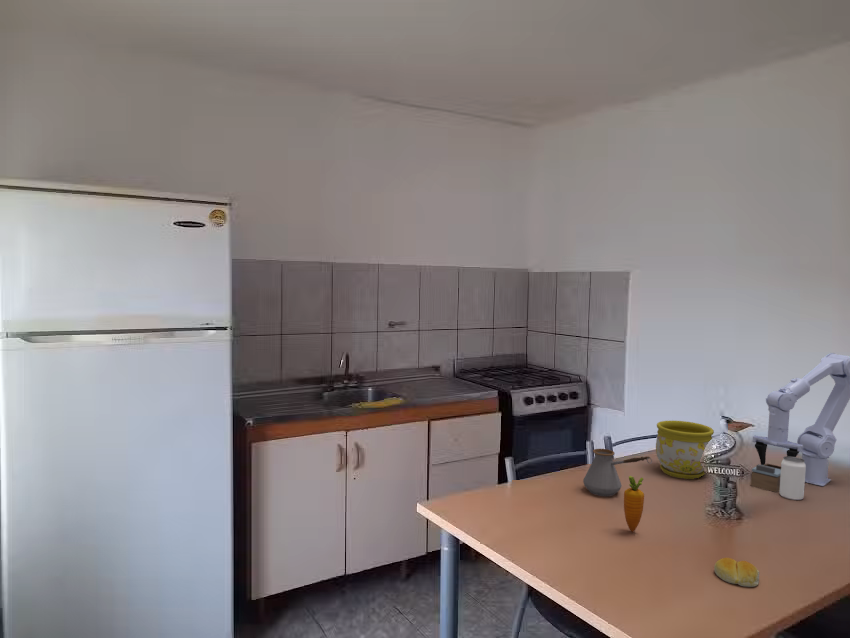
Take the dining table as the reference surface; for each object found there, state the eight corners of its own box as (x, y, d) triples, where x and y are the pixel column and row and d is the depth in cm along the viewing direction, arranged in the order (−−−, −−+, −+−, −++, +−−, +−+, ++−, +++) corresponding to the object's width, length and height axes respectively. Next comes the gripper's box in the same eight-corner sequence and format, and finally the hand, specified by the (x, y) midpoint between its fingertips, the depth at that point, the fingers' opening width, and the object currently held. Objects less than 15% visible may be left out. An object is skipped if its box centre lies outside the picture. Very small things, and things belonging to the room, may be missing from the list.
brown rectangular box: (766, 476, 204) (767, 463, 204) (791, 482, 199) (792, 469, 199) (750, 485, 195) (751, 471, 194) (776, 492, 189) (777, 478, 189)
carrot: (641, 529, 157) (645, 474, 156) (642, 537, 153) (645, 480, 152) (622, 526, 159) (625, 471, 158) (621, 534, 154) (625, 477, 153)
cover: (759, 466, 199) (759, 460, 199) (784, 472, 194) (785, 465, 193) (751, 471, 194) (752, 464, 194) (777, 477, 189) (778, 470, 188)
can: (796, 493, 188) (799, 456, 188) (807, 501, 182) (810, 462, 181) (775, 492, 189) (777, 455, 188) (785, 499, 183) (788, 461, 182)
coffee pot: (575, 490, 186) (577, 443, 185) (596, 483, 193) (598, 437, 192) (637, 512, 169) (640, 460, 168) (658, 503, 177) (661, 453, 176)
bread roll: (716, 565, 139) (717, 549, 139) (759, 576, 134) (761, 559, 134) (711, 580, 132) (712, 562, 132) (757, 592, 127) (758, 574, 127)
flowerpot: (650, 463, 216) (652, 418, 215) (703, 467, 212) (706, 422, 211) (659, 479, 198) (662, 431, 197) (717, 484, 195) (720, 435, 194)
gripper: (750, 424, 200) (747, 464, 201) (799, 434, 190) (796, 475, 191) (757, 421, 205) (755, 460, 206) (806, 430, 194) (803, 471, 195)
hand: (775, 467), depth 199 cm, fingers open, 7 cm apart
